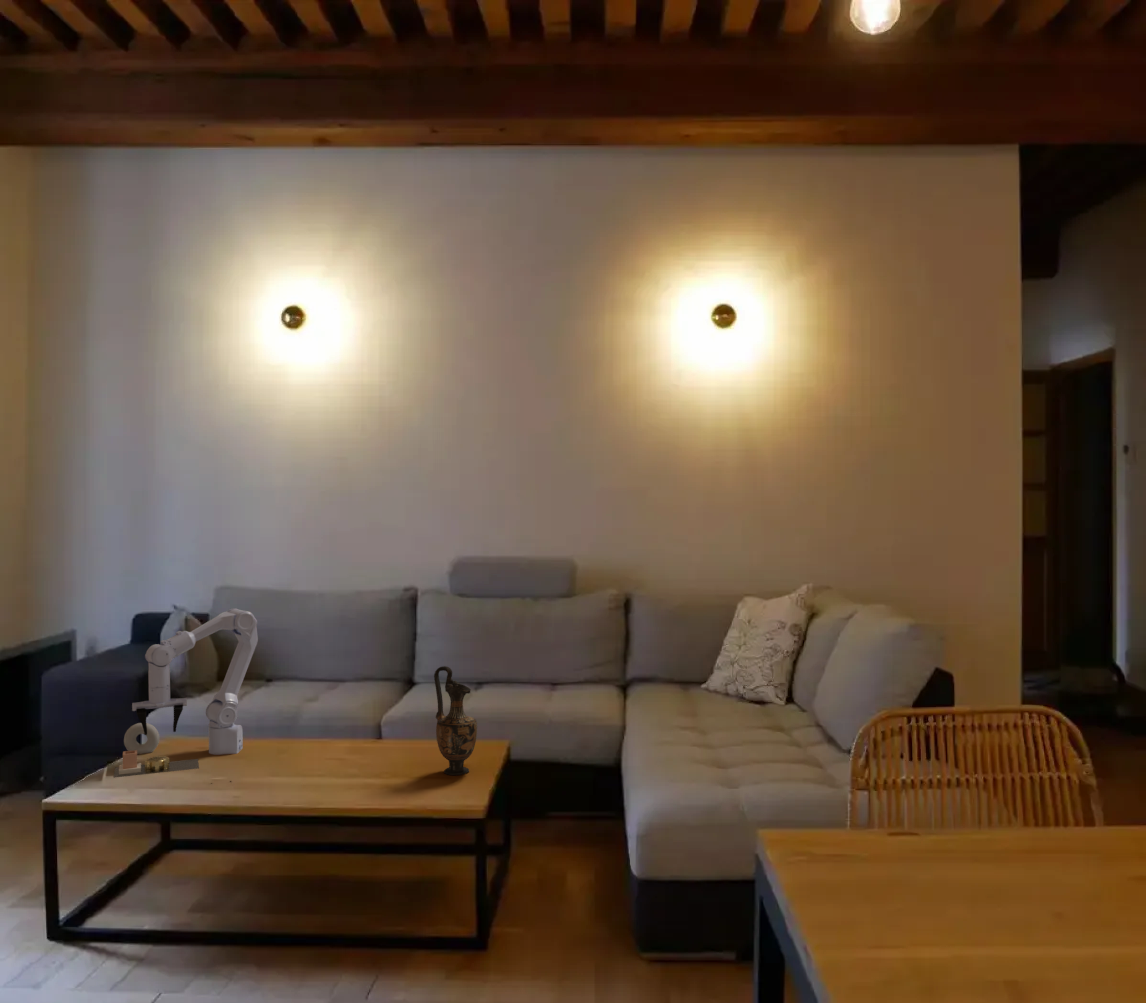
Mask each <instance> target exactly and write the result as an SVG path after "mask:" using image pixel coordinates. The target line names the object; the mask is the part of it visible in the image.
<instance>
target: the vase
mask: <svg viewBox="0 0 1146 1003" xmlns="http://www.w3.org/2000/svg"><path fill="white" fill-rule="evenodd" d="M441 671H442V672H443V671H444V672H446V674H447V675H446V680H445V684H444V685H445V686H444V689H445V692H446V693H447V694H448V696H449V699H450V705H449V706H450V707H449V712H448V714H447V715H445V714H444V702H443V694H442V687H441V681H440V676H439V675H440V672H441ZM452 677H453V670H452V669H451V667H449V666H446V665H443V666H440V667H438V668H437V669H435V671H434V674H433V678H434V684H435V685H434V687H435V692H436V698H437V699H436V700H437V701H436V702H437V712H436V715H435V719H436V720H437V721H436V727H435V733H436V734H435V738H436V742H437V747H438V750H439V752H440V754H441V755H442V757H443V758H444V759H446V760H447V761H448V767H447V768H445V769H444V771H443V773H444V774H445V775H449V776H461V775H462V774H463V775H466V774H468V773H470V769H469V768H468V767H465V766H464V763H465V761H466V760H467V759H468V758H470V756H471V755H472V754H473V751H474V749H475V746H476V741H477V736H478V722H477V719H476V718H475V717H473V716H468V715H466V713H465V711H464V697H465V696H466V695H467V694H471V691H472V689H471V688H469V687H468V686H466V685H464V684H462V683H460V682H458V681H457V680H453V679H452ZM467 772H468V773H467ZM465 773H466V774H465Z"/></svg>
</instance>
